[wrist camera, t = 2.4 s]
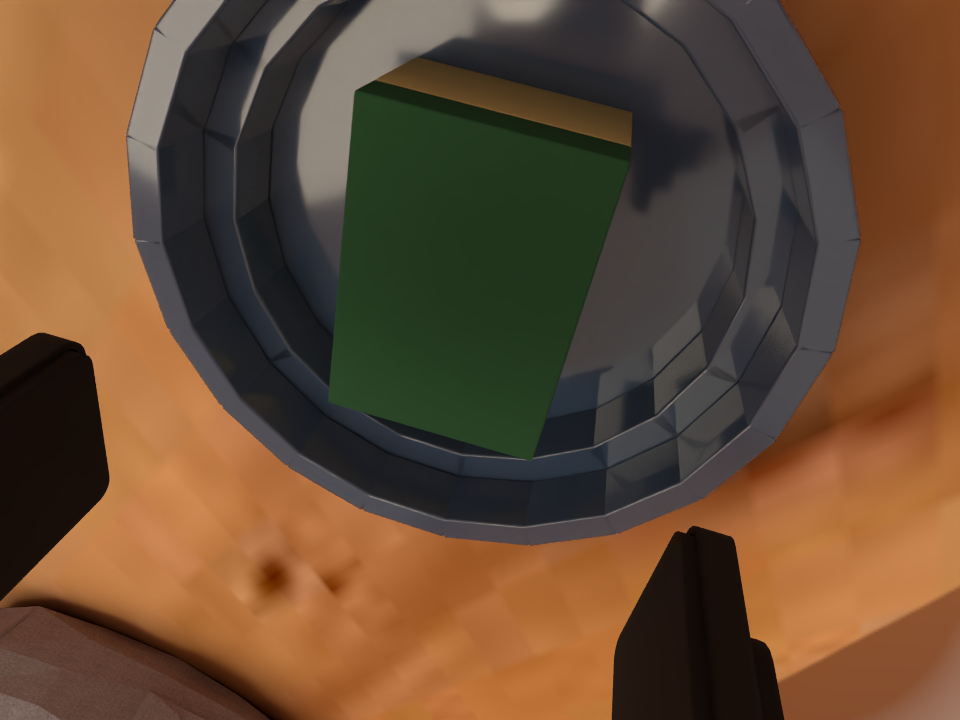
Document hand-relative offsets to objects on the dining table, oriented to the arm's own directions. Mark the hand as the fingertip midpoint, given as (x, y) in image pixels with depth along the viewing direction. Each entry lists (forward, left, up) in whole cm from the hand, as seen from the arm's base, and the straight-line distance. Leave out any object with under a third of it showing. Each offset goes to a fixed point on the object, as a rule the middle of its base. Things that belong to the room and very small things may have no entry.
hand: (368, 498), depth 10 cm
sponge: (0, 0, -10) cm, 10 cm away
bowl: (0, 0, -11) cm, 11 cm away
